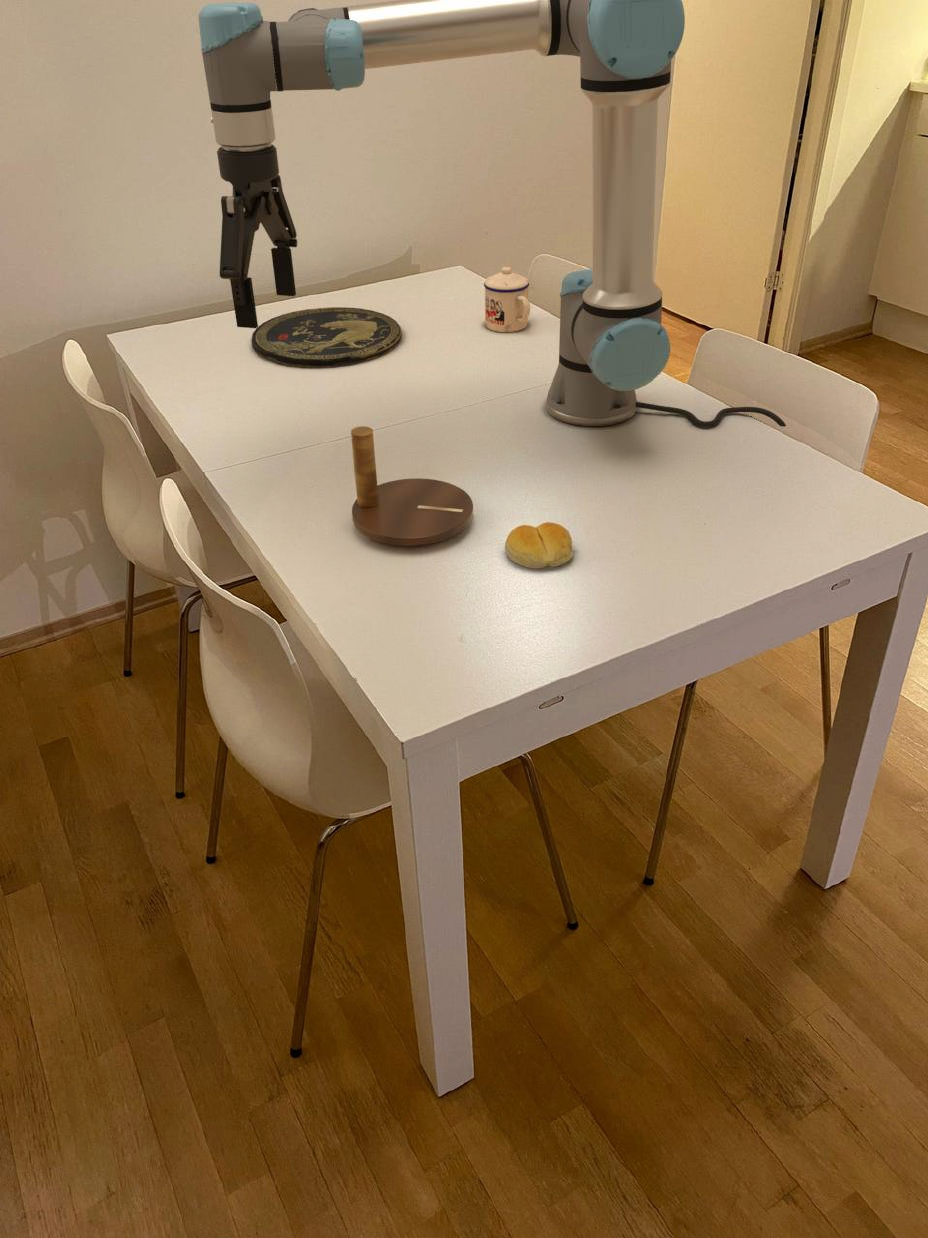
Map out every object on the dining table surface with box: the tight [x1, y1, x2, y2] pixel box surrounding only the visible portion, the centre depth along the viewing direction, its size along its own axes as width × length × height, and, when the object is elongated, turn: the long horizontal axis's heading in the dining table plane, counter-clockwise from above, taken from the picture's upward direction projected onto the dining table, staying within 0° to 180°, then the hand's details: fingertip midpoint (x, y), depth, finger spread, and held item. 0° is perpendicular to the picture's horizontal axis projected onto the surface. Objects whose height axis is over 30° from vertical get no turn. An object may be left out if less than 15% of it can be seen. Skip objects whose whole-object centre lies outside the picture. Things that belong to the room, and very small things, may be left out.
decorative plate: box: [250, 306, 403, 368], centre depth 202 cm, size 30×2×30 cm
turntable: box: [350, 425, 474, 546], centre depth 138 cm, size 17×17×12 cm
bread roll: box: [504, 521, 575, 569], centre depth 134 cm, size 8×9×4 cm
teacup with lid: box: [483, 266, 531, 333], centre depth 202 cm, size 12×9×12 cm
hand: (267, 310), depth 141 cm, fingers open, 13 cm apart
